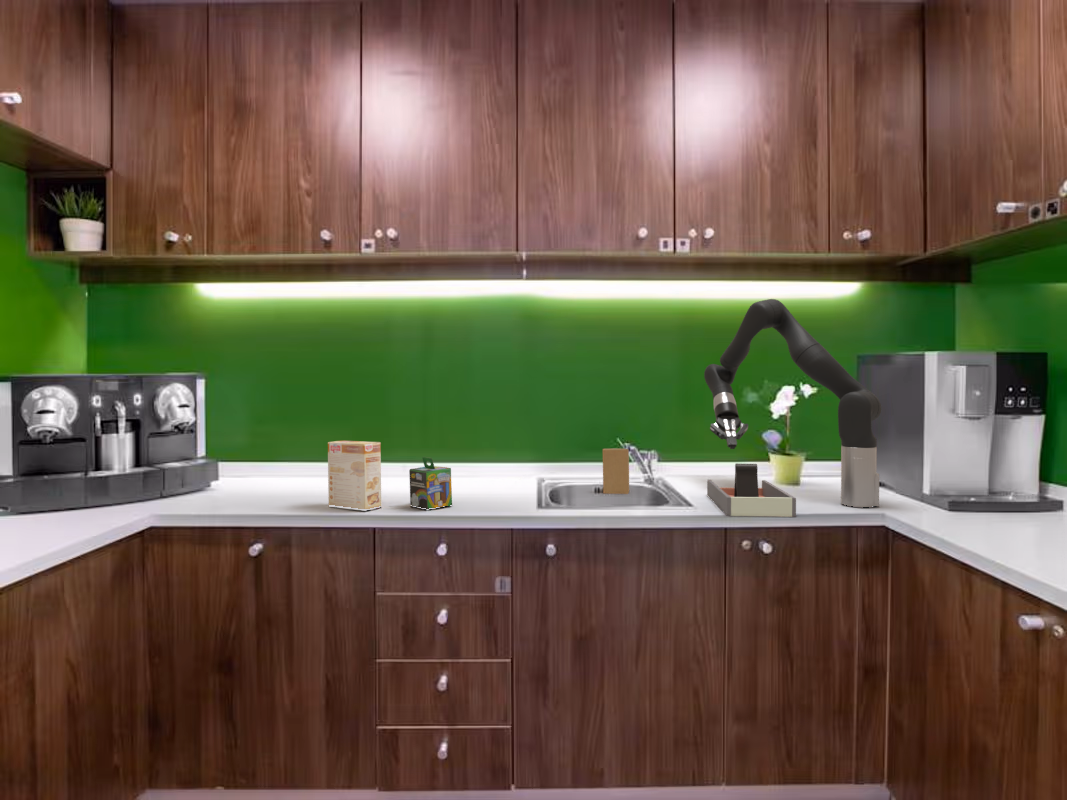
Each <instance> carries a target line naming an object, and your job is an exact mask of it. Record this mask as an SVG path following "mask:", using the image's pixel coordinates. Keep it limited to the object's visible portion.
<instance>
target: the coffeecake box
mask: <svg viewBox="0 0 1067 800" xmlns="http://www.w3.org/2000/svg"><path fill="white" fill-rule="evenodd" d="M381 444H382V443H381V442H380V441H360V440H335V441H328V442H327V474H328V475H327V478H328V479H327V480H328V488H327V489H328V506H329V505H335V506H343V507H351V508H358V509H370V508H374V507H379V506H381V507H382V466H381V465H382V463H381V462H382V459H381V458H382V456H381V453H382V452H381Z"/></svg>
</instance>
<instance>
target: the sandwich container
mask: <svg viewBox="0 0 1067 800" xmlns="http://www.w3.org/2000/svg"><path fill="white" fill-rule="evenodd" d="M629 452H630V451H629V448H602V482H603V485H602V491H603V493H602V494H611V495H616V494H617V495H628V494H629V492H630V456H629Z"/></svg>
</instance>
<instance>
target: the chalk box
mask: <svg viewBox="0 0 1067 800" xmlns="http://www.w3.org/2000/svg"><path fill="white" fill-rule="evenodd" d="M422 461H423V465H424V466H421V467H417V468H410V469H409V499H410V501H409V502H410V503H409V505H412V506H416V507H421V508H426V509H429V508H436V507H443V506H449V507H451V506H450V505H452V506H453V496H452V495H453V494H452V491H453V490H452V467H447V466H446V467H445V466H438V465H437V466H436V465H434V460H433V458H432V457H428V456H427V457H426V456H423V457H422ZM427 462H429V463H430V465H429V464H428V463H427Z"/></svg>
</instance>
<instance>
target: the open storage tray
mask: <svg viewBox="0 0 1067 800" xmlns="http://www.w3.org/2000/svg"><path fill="white" fill-rule="evenodd" d="M706 482H707V485H706V488H707V489H706V491H707V494H706V496H707V495H708V496H709V497H710V498H709V499H710V500H711V499H712V500H711V501H712V502H713V501H714V502H713V503H714V504H715V505H716V506H717V507H718V508H719V509H720V510H721V511H722V510H723V511H724V512H723V511H722V512H723V513H724V515H726V516H728V517H782V518H785V517H788V518H789V517H790V518H791V517H792V518H796V517H797V498H796V497H795V496H793V495H792V494H789V493H788V492H786V491H784V490H782V488H779V487H778V486H777V485H774V484H772V483H770V482H769V481H767V480H765V479H764V480H761V487H758V494H759V497H734V487H720V486H718V485H717V484H716V483H715V482H714V481H712V480H711V479H707V481H706ZM708 496H707V497H708Z"/></svg>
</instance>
